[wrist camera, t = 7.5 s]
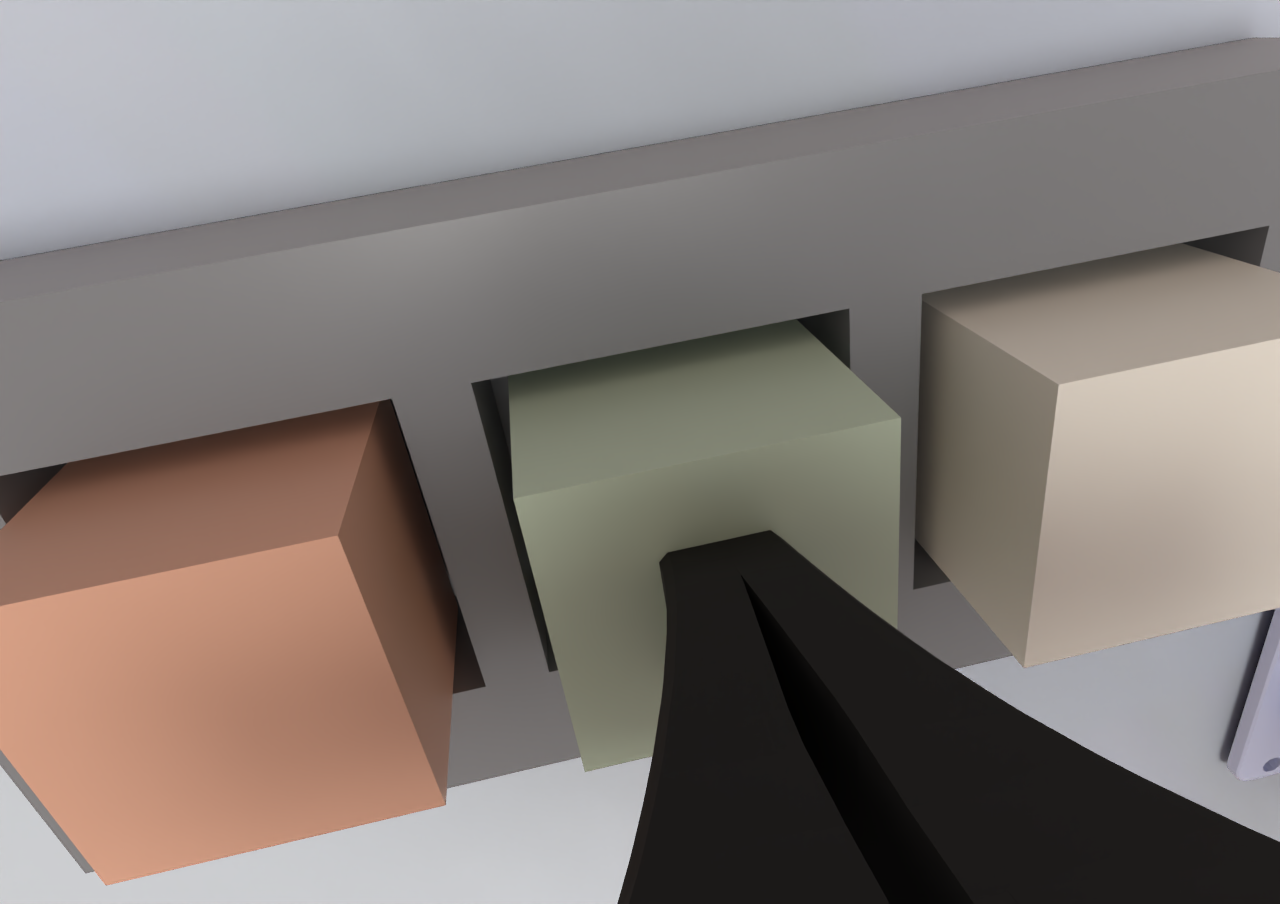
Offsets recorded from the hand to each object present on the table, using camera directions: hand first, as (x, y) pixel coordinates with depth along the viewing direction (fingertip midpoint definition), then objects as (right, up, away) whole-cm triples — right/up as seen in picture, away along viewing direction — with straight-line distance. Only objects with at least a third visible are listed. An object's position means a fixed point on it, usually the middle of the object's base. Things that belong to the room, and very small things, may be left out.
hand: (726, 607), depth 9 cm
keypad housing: (-1, +2, +5) cm, 5 cm away
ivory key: (+5, +3, +4) cm, 7 cm away
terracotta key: (-6, +1, +3) cm, 7 cm away
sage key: (-1, +2, +3) cm, 4 cm away
